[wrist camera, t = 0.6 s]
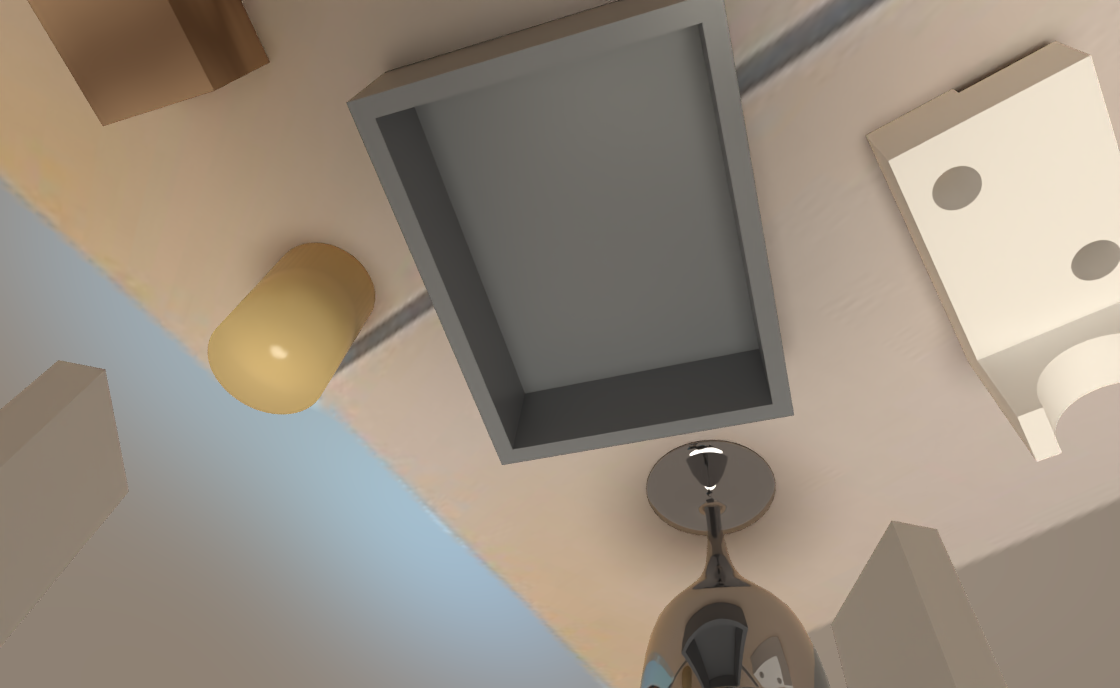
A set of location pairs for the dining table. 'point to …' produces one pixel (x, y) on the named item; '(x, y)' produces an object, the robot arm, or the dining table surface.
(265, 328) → the ochre canister
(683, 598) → the wine glass
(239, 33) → the walnut cube
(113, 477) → the robot arm
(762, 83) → the dining table surface
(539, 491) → the dining table surface
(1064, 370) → the bracket
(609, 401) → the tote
